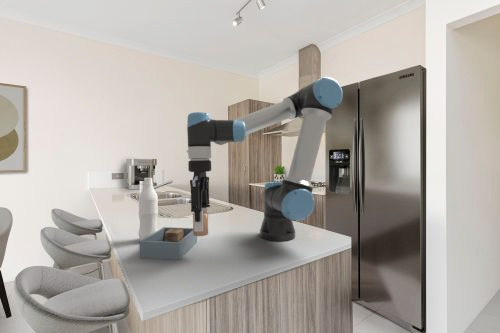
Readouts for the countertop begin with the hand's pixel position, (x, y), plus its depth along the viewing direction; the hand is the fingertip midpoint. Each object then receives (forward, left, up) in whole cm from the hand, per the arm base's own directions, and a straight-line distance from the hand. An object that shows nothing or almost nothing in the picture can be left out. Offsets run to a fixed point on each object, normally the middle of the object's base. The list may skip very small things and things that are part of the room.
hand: (201, 228), depth 85 cm
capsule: (0, 0, -2) cm, 2 cm away
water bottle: (+26, -12, -9) cm, 30 cm away
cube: (+13, -8, -9) cm, 18 cm away
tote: (+13, -4, -9) cm, 16 cm away
